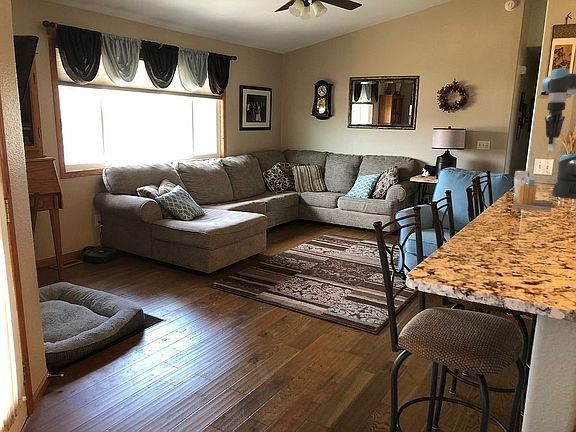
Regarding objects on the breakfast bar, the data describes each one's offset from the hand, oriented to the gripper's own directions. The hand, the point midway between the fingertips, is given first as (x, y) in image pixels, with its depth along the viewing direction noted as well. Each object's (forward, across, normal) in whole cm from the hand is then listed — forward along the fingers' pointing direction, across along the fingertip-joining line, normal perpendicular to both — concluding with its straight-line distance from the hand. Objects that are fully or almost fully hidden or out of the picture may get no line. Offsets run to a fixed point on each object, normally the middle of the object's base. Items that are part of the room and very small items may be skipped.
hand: (551, 150), depth 226 cm
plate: (+26, +17, +4) cm, 32 cm away
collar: (+25, +16, 0) cm, 30 cm away
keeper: (+15, +12, -1) cm, 20 cm away
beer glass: (+27, +2, -13) cm, 30 cm away
